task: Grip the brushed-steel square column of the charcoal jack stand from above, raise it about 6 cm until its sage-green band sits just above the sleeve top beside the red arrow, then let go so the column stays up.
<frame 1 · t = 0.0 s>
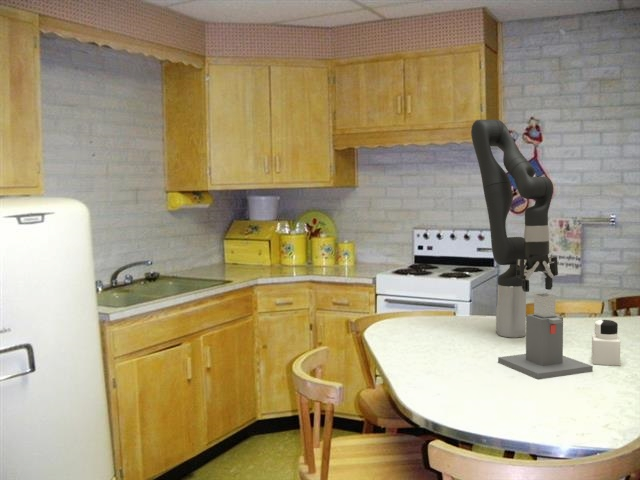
hand: (537, 290, 216), 17 cm above the table, tool pointing down, fingers open, 8 cm apart
steel column: (544, 327, 190), point 11 cm above the table, slide at 0.0 cm
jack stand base: (544, 366, 191), on the table
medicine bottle: (605, 362, 195), on the table
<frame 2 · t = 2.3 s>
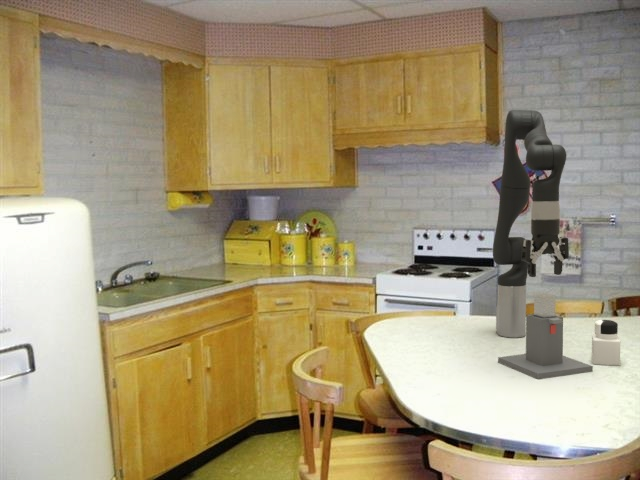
hand: (544, 275, 189), 26 cm above the table, tool pointing down, fingers open, 8 cm apart
nothing on the table moved.
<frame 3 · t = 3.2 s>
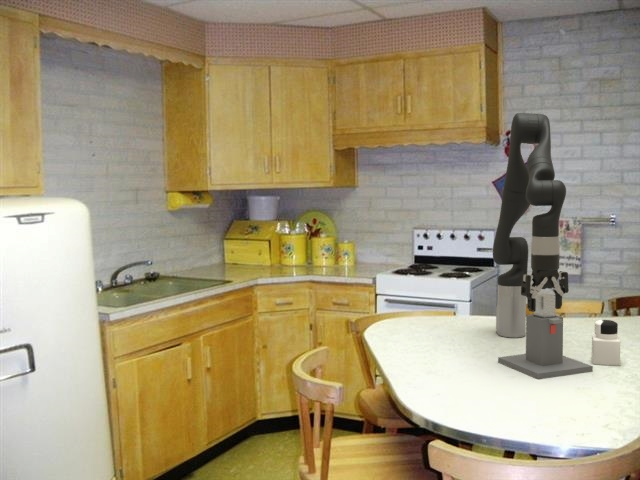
hand: (544, 309, 190), 16 cm above the table, tool pointing down, fingers open, 8 cm apart
nothing on the table moved.
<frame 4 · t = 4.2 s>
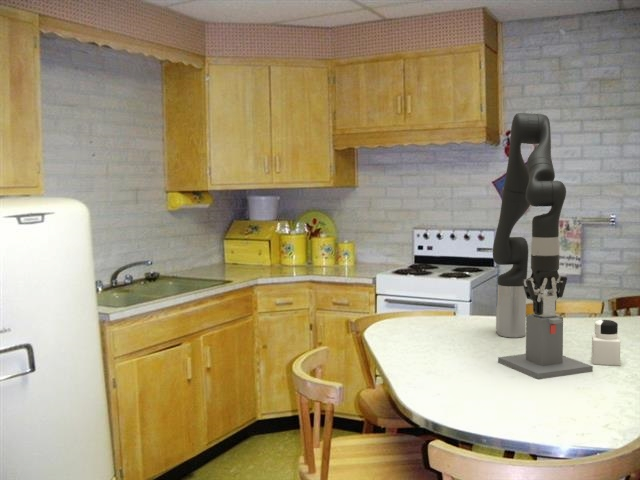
hand: (544, 313, 190), 15 cm above the table, tool pointing down, fingers closed on steel column, 4 cm apart
steel column: (544, 327, 190), point 11 cm above the table, slide at 0.0 cm, touching gripper
everything else where it was.
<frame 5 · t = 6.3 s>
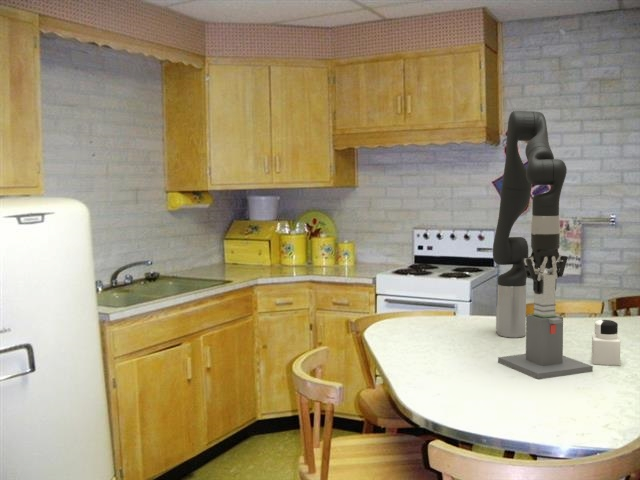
hand: (544, 292, 190), 21 cm above the table, tool pointing down, fingers closed on steel column, 4 cm apart
steel column: (544, 306, 190), point 17 cm above the table, slide at 5.9 cm, touching gripper
everything else where it was.
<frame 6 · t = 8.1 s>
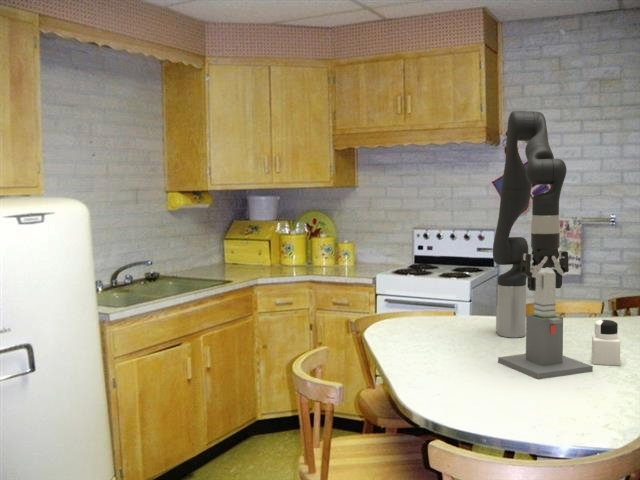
hand: (544, 289, 189), 22 cm above the table, tool pointing down, fingers open, 8 cm apart
steel column: (544, 306, 190), point 17 cm above the table, slide at 5.9 cm
everything else where it was.
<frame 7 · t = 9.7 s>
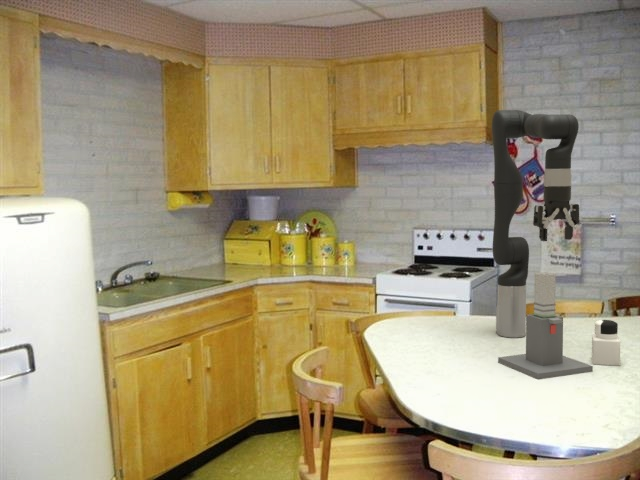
hand: (555, 240, 198), 35 cm above the table, tool pointing down, fingers open, 8 cm apart
nothing on the table moved.
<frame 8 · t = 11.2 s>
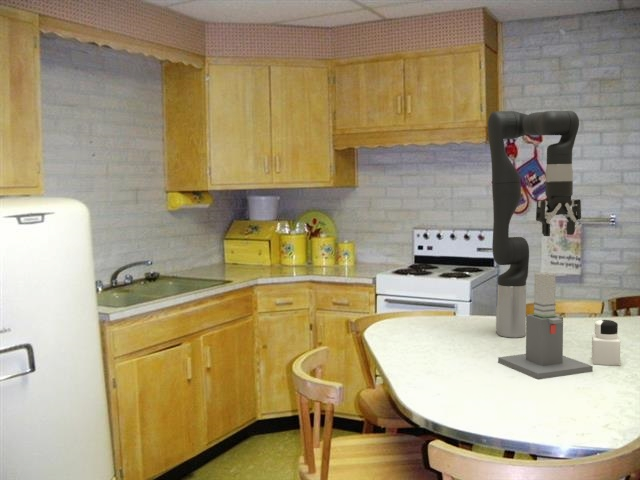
hand: (558, 235, 199), 36 cm above the table, tool pointing down, fingers open, 8 cm apart
nothing on the table moved.
at the end: steel column slide at 5.9 cm; the gripper is holding nothing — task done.
